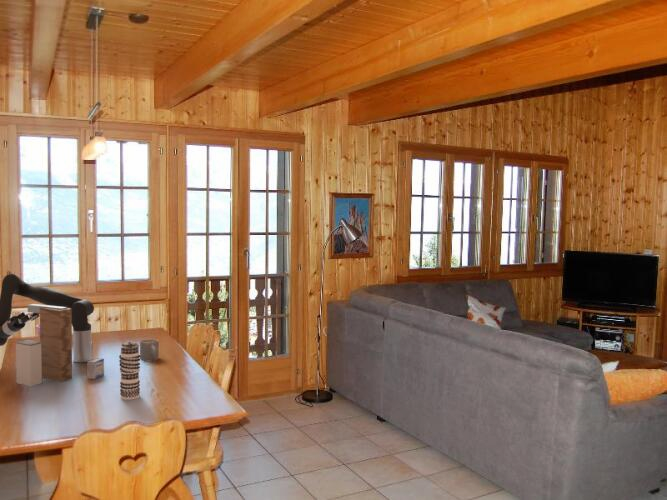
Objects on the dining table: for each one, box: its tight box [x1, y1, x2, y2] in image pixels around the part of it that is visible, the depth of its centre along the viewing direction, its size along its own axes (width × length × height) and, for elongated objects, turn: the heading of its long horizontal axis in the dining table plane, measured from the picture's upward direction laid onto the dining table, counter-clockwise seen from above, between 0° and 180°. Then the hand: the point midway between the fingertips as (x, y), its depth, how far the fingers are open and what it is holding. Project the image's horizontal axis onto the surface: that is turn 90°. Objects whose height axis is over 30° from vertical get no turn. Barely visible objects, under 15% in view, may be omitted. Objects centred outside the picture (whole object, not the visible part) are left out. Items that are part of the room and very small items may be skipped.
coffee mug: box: [139, 338, 160, 361], centre depth 339 cm, size 13×10×10 cm
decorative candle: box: [118, 340, 141, 400], centre depth 274 cm, size 9×9×25 cm
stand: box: [39, 308, 73, 382], centre depth 300 cm, size 7×14×35 cm, turn 64°
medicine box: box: [86, 357, 105, 380], centre depth 304 cm, size 8×4×9 cm, turn 168°
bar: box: [27, 303, 67, 313], centre depth 300 cm, size 4×21×4 cm, turn 70°
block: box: [15, 339, 43, 387], centre depth 291 cm, size 6×10×20 cm, turn 64°
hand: (31, 312), depth 306 cm, fingers open, 8 cm apart
